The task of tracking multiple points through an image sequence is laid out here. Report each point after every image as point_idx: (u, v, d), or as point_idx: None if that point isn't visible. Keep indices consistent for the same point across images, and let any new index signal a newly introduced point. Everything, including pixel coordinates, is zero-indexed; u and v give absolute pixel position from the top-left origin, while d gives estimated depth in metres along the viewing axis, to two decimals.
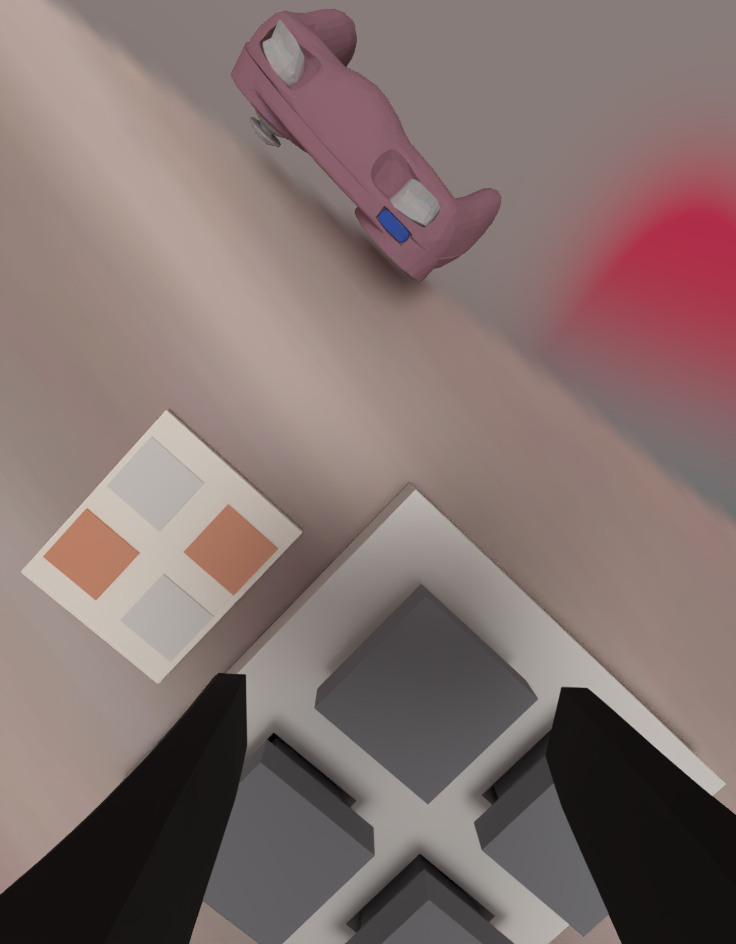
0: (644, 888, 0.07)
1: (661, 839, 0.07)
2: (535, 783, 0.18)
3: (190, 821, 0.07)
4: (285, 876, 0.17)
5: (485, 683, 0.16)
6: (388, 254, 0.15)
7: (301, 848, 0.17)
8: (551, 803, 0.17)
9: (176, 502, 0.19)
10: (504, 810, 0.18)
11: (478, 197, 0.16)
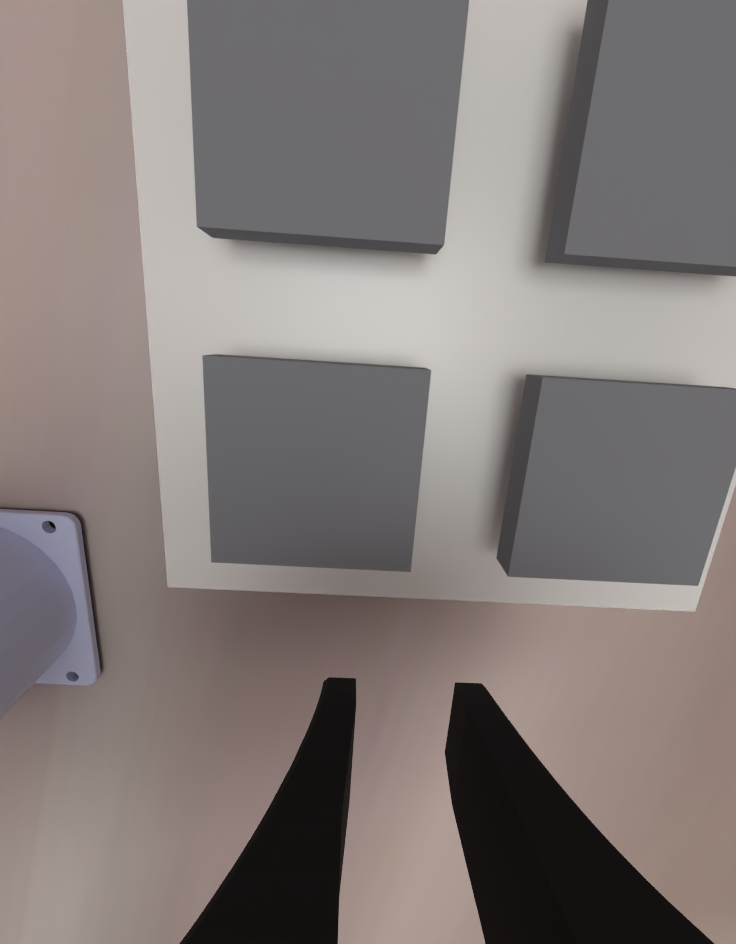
0: (499, 885, 0.07)
1: (510, 834, 0.07)
2: (649, 383, 0.12)
3: (342, 825, 0.07)
4: (323, 140, 0.10)
5: None
6: None
7: (382, 125, 0.10)
8: (658, 406, 0.12)
9: None
10: (588, 379, 0.12)
11: None
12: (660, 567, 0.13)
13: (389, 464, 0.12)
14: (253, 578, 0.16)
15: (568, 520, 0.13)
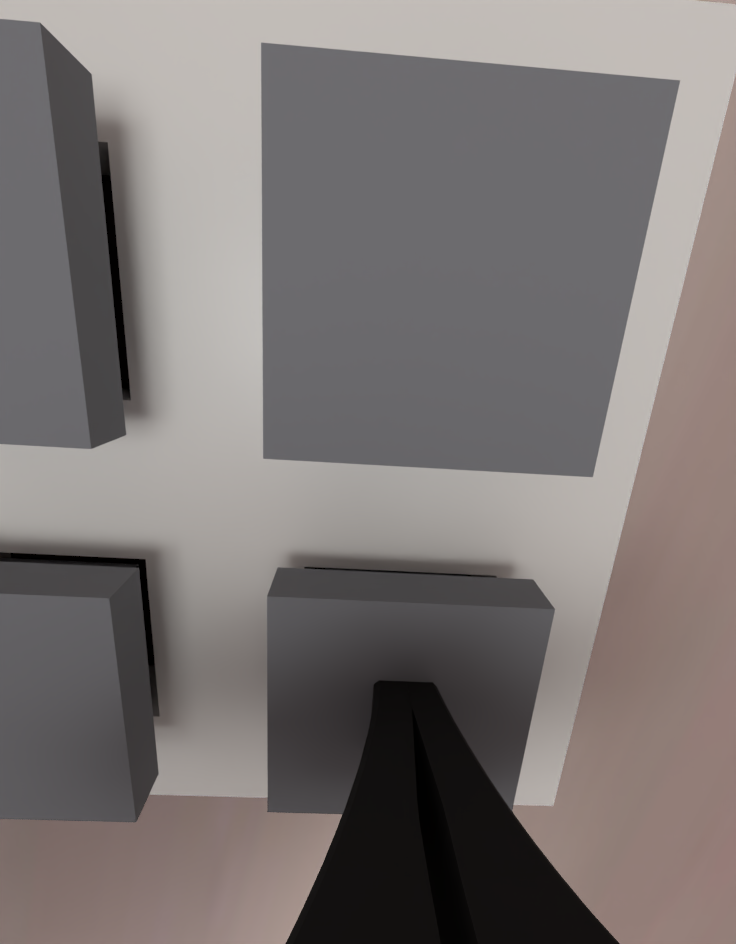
0: (430, 883, 0.07)
1: (438, 832, 0.07)
2: (422, 589, 0.10)
3: None
4: None
5: (563, 365, 0.07)
6: None
7: None
8: (424, 627, 0.09)
9: None
10: (343, 584, 0.10)
11: None
12: None
13: (78, 706, 0.09)
14: None
15: (332, 751, 0.10)
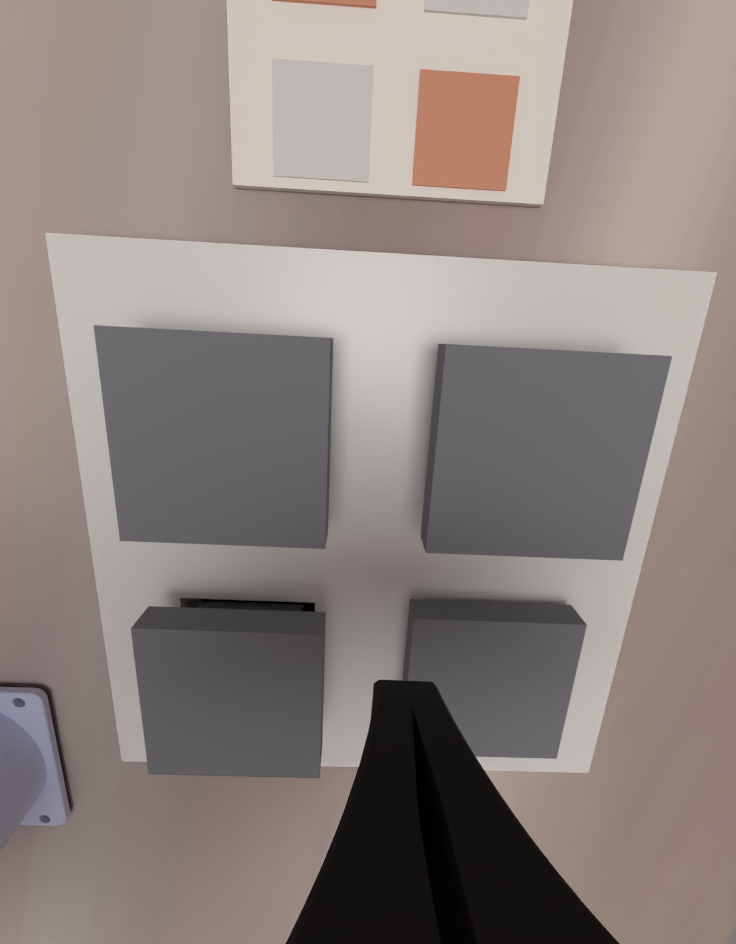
0: (430, 883, 0.07)
1: (438, 832, 0.07)
2: (504, 612, 0.15)
3: None
4: (219, 481, 0.12)
5: (605, 499, 0.13)
6: None
7: (266, 470, 0.12)
8: (507, 636, 0.15)
9: (478, 0, 0.13)
10: (455, 610, 0.15)
11: None
12: (524, 746, 0.17)
13: (293, 701, 0.15)
14: None
15: None
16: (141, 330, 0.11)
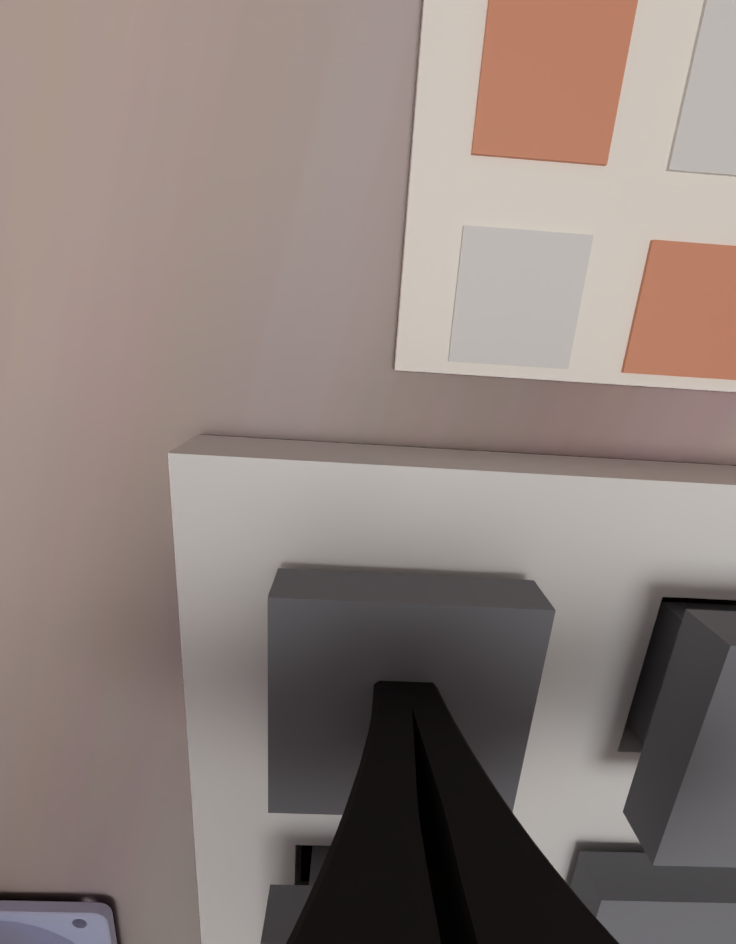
0: (430, 883, 0.07)
1: (438, 832, 0.07)
2: (703, 880, 0.12)
3: None
4: None
5: None
6: None
7: None
8: (713, 917, 0.12)
9: None
10: (643, 875, 0.13)
11: None
12: None
13: None
14: None
15: None
16: (325, 602, 0.09)
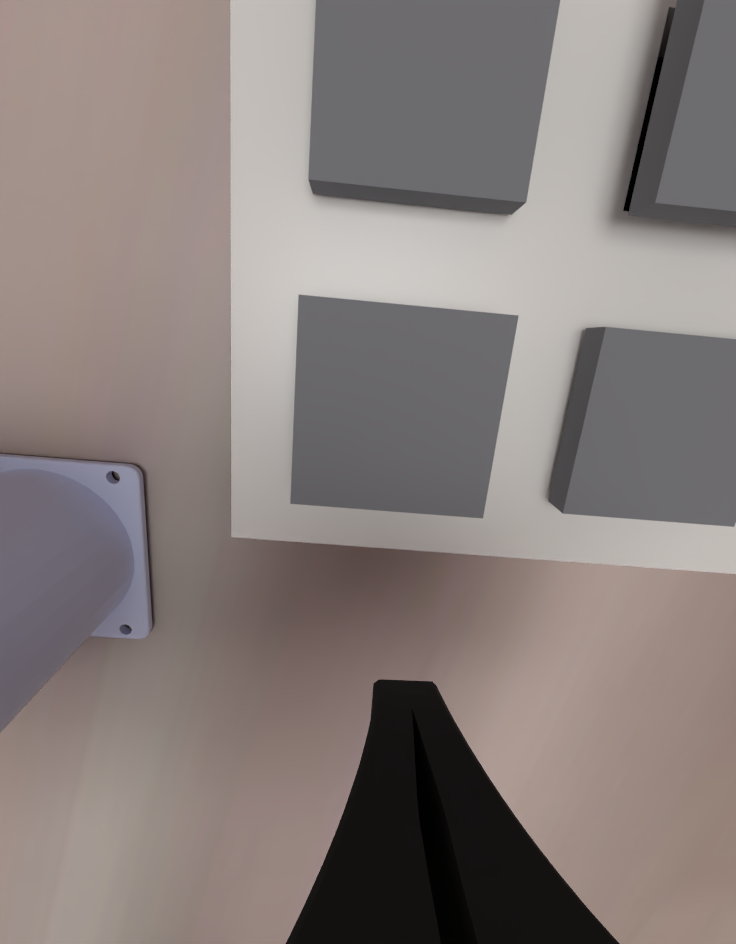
0: (430, 883, 0.07)
1: (438, 832, 0.07)
2: None
3: None
4: (426, 104, 0.11)
5: None
6: None
7: (479, 93, 0.11)
8: (707, 356, 0.13)
9: None
10: None
11: None
12: (701, 508, 0.15)
13: (470, 409, 0.13)
14: (316, 530, 0.16)
15: (620, 461, 0.14)
16: None
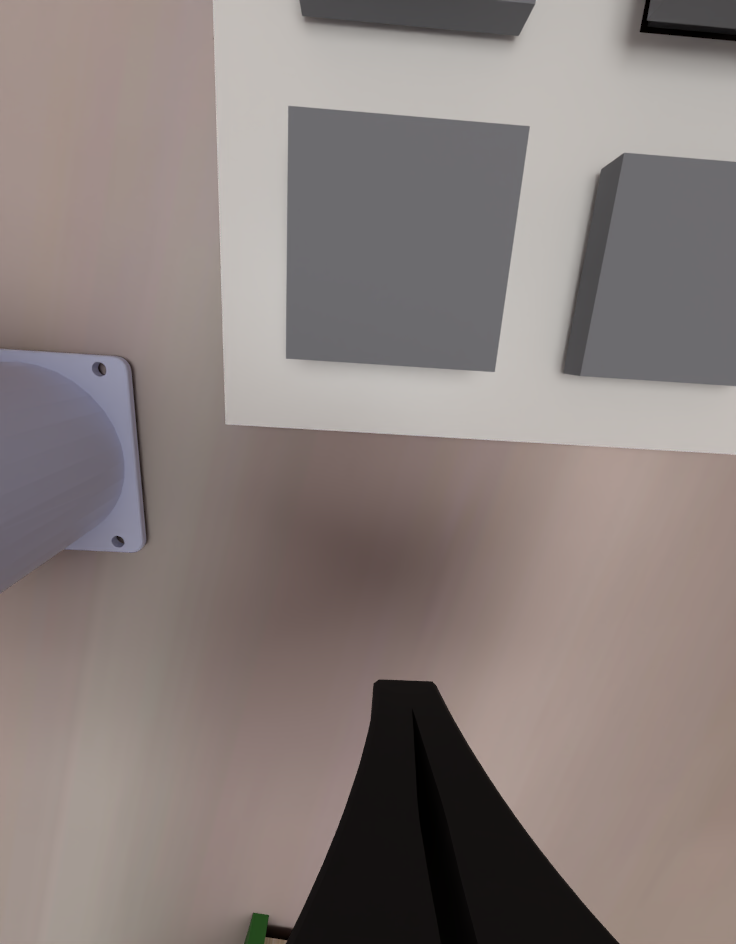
0: (430, 883, 0.07)
1: (438, 832, 0.07)
2: None
3: None
4: None
5: None
6: None
7: None
8: (735, 185, 0.12)
9: None
10: None
11: None
12: (729, 367, 0.14)
13: (479, 241, 0.12)
14: (315, 414, 0.15)
15: (642, 313, 0.13)
16: None
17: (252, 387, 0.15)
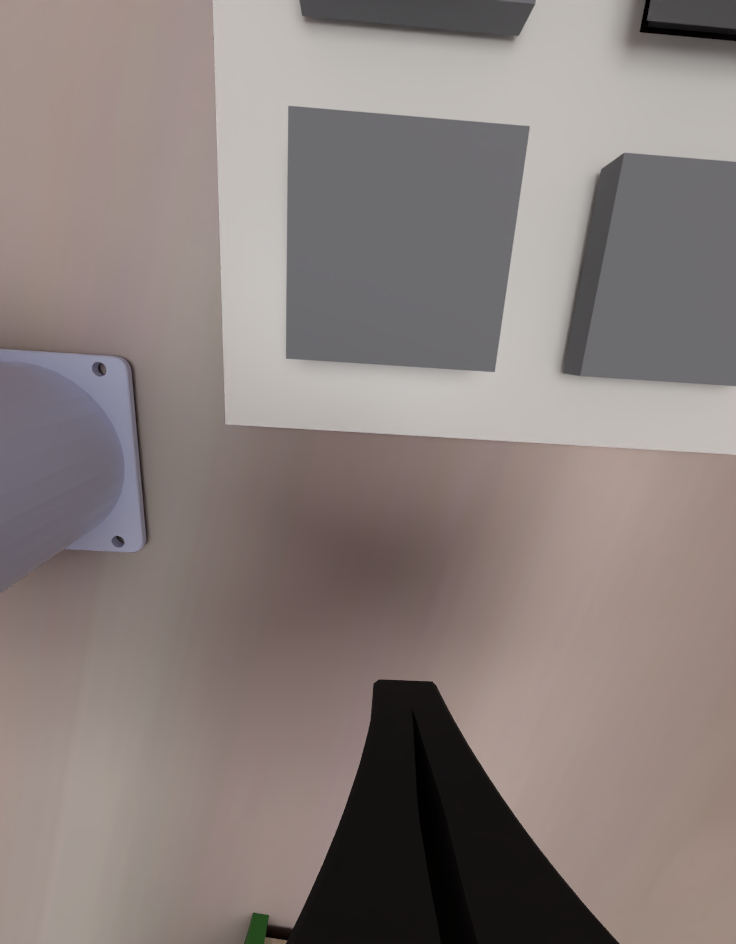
0: (430, 883, 0.07)
1: (438, 832, 0.07)
2: None
3: None
4: None
5: None
6: None
7: None
8: (735, 185, 0.12)
9: None
10: None
11: None
12: (729, 367, 0.14)
13: (479, 241, 0.12)
14: (315, 414, 0.15)
15: (642, 313, 0.13)
16: None
17: (252, 387, 0.15)
